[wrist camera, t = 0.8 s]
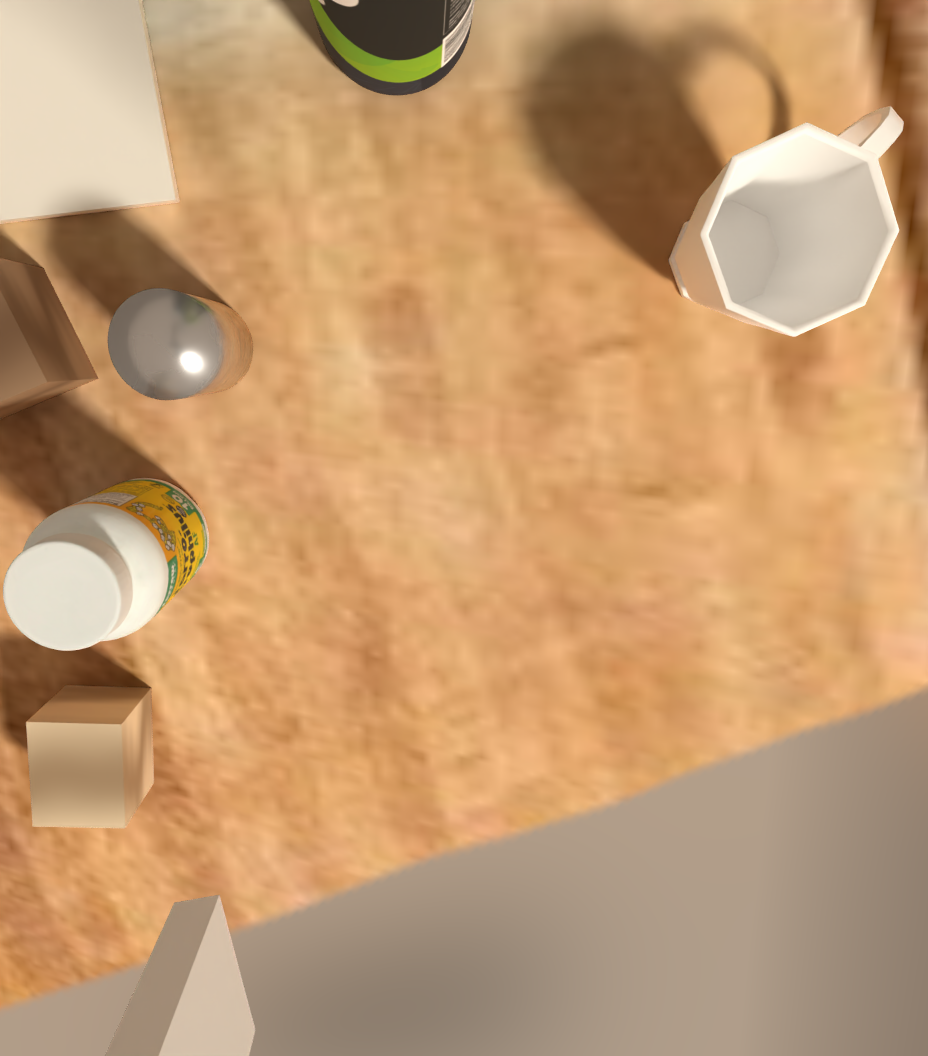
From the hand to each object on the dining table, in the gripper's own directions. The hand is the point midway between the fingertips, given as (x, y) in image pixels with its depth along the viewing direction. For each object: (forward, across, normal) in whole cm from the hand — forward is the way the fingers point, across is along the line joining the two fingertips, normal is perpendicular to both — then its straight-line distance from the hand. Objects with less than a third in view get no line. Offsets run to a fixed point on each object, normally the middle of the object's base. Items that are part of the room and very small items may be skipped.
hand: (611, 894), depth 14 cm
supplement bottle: (+25, -15, +3) cm, 29 cm away
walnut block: (+25, -19, +13) cm, 34 cm away
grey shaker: (+25, -11, +11) cm, 29 cm away
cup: (+25, +13, +12) cm, 31 cm away
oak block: (+25, -20, -6) cm, 32 cm away
